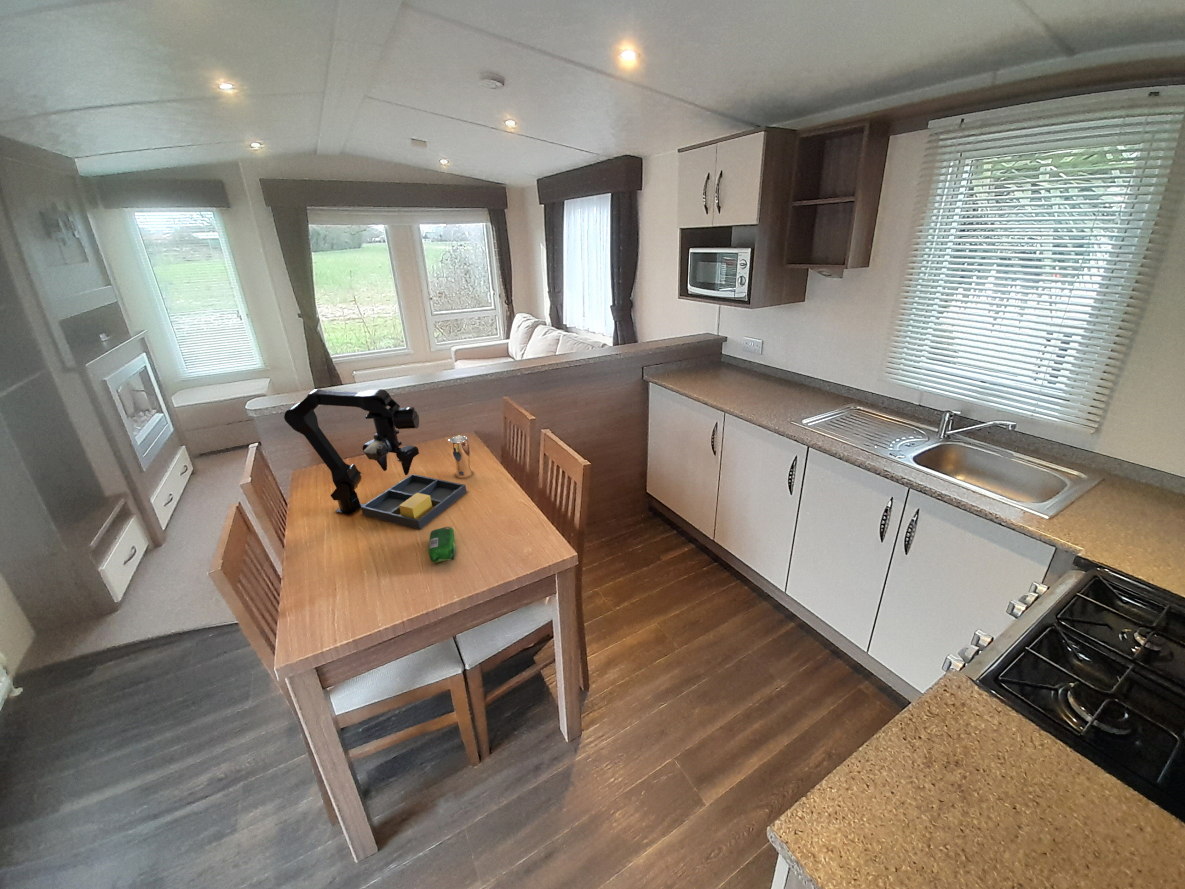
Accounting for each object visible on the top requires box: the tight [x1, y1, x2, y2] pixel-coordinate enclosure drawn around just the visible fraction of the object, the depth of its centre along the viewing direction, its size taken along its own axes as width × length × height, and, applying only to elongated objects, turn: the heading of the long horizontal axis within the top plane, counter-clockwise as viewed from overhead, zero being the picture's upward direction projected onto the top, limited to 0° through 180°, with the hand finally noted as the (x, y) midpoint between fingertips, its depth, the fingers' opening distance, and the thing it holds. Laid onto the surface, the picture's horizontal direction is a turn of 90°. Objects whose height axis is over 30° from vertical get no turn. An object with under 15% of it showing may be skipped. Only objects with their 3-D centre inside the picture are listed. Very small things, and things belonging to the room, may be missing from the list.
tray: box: [360, 473, 468, 530], centre depth 164 cm, size 24×24×3 cm
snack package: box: [428, 526, 456, 564], centre depth 138 cm, size 7×16×5 cm, turn 15°
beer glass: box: [448, 435, 473, 479], centre depth 180 cm, size 7×7×15 cm
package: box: [399, 493, 432, 519], centre depth 157 cm, size 6×8×5 cm, turn 157°
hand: (395, 472), depth 158 cm, fingers open, 9 cm apart
